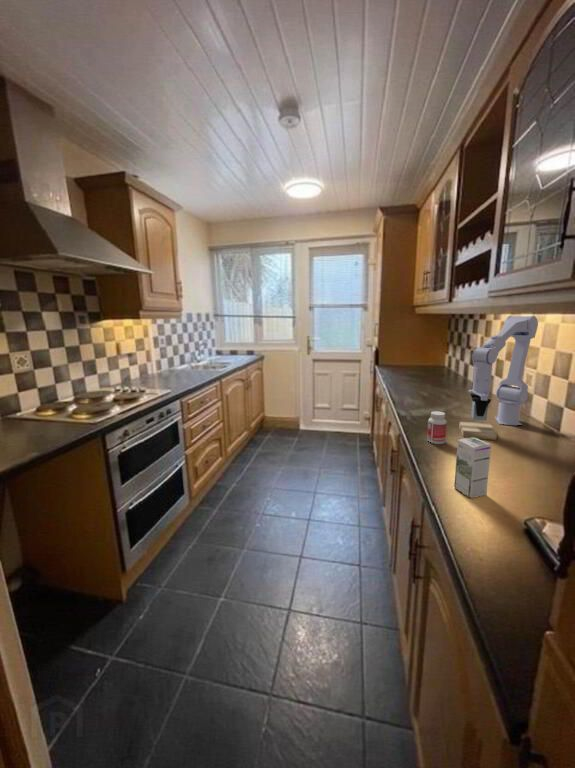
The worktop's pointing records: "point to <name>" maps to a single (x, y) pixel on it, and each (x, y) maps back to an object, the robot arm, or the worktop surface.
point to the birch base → (478, 430)
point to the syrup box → (472, 466)
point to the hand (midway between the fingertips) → (478, 414)
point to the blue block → (474, 415)
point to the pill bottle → (437, 428)
